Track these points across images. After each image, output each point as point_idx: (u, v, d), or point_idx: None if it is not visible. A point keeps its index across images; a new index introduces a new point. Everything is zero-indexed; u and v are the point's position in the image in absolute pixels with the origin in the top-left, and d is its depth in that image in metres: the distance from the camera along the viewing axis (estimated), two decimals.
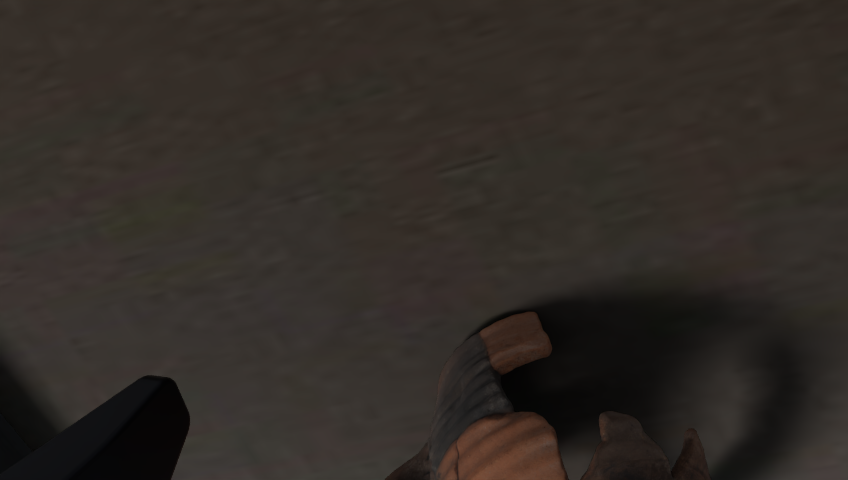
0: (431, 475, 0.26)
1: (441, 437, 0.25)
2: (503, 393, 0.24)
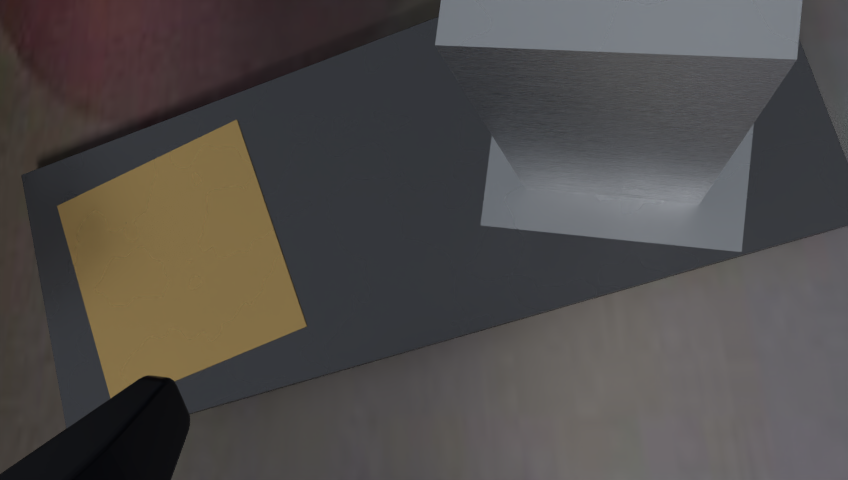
0: None
1: None
2: None
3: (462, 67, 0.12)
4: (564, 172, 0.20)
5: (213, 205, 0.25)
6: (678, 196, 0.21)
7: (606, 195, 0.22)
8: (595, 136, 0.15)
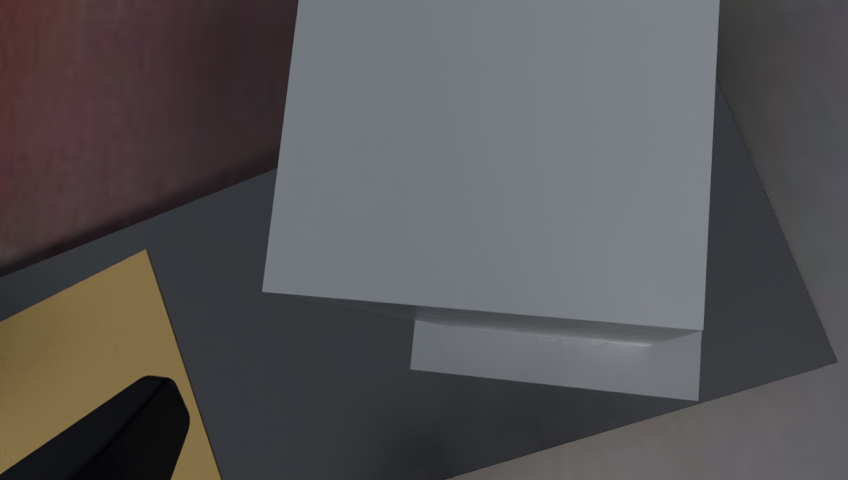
0: None
1: None
2: None
3: (311, 299, 0.10)
4: (490, 329, 0.17)
5: (121, 345, 0.23)
6: None
7: None
8: (504, 325, 0.13)
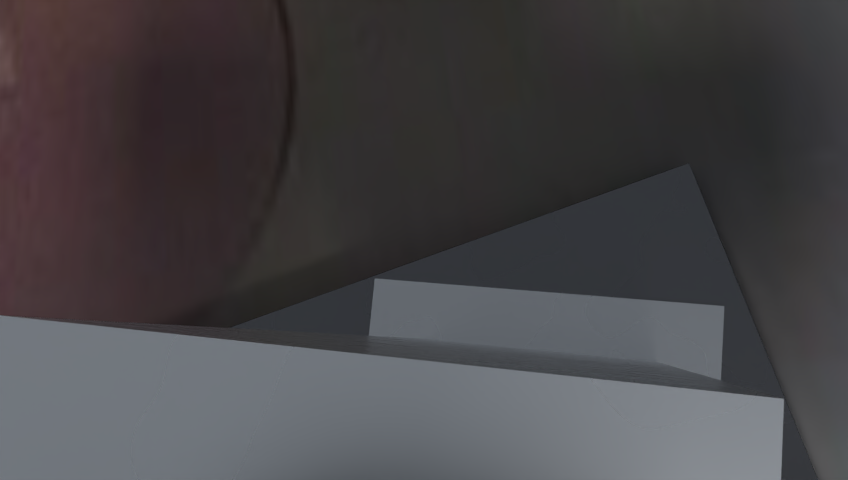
0: None
1: None
2: None
3: None
4: None
5: None
6: None
7: None
8: None
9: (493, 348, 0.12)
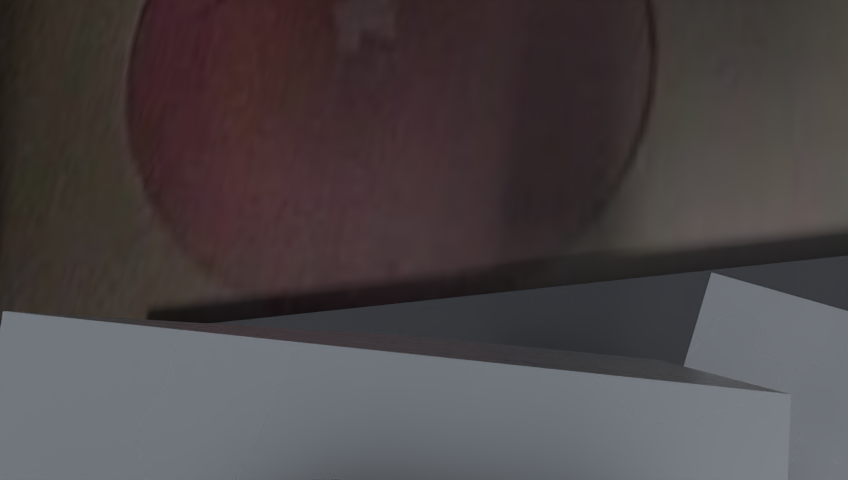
0: None
1: None
2: None
3: None
4: None
5: None
6: None
7: None
8: None
9: None
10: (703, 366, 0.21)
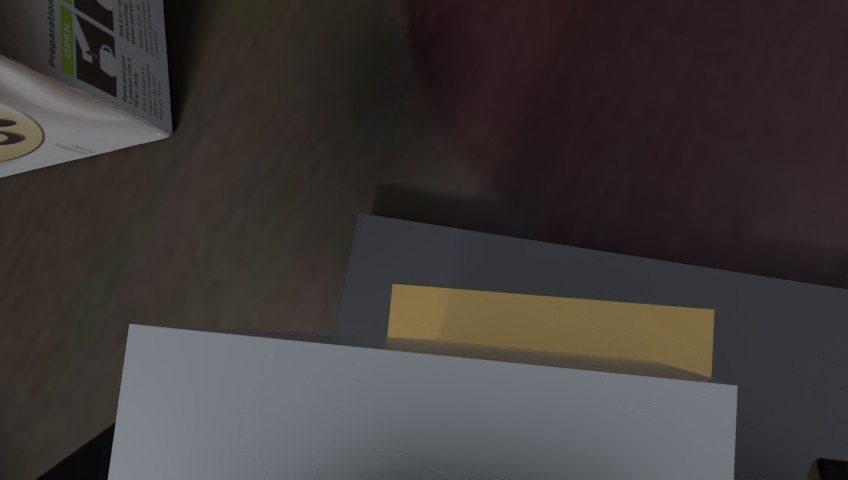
0: None
1: None
2: None
3: None
4: None
5: None
6: None
7: None
8: None
9: (505, 348, 0.13)
10: None
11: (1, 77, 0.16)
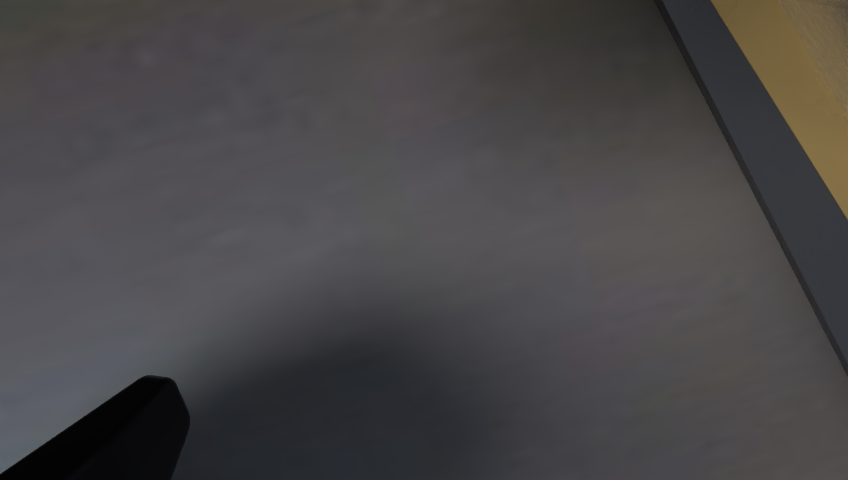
0: None
1: None
2: None
3: None
4: None
5: None
6: None
7: (826, 78, 0.18)
8: None
9: None
10: None
11: None
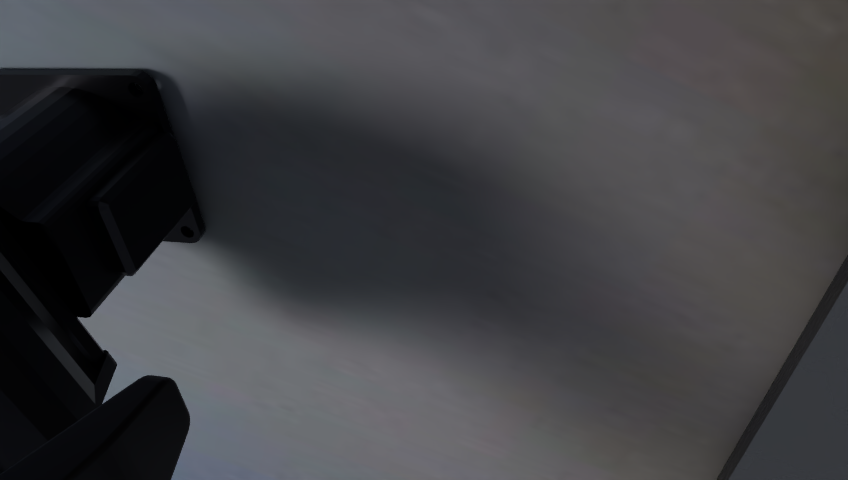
0: None
1: None
2: None
3: None
4: None
5: None
6: None
7: None
8: None
9: None
10: None
11: None
